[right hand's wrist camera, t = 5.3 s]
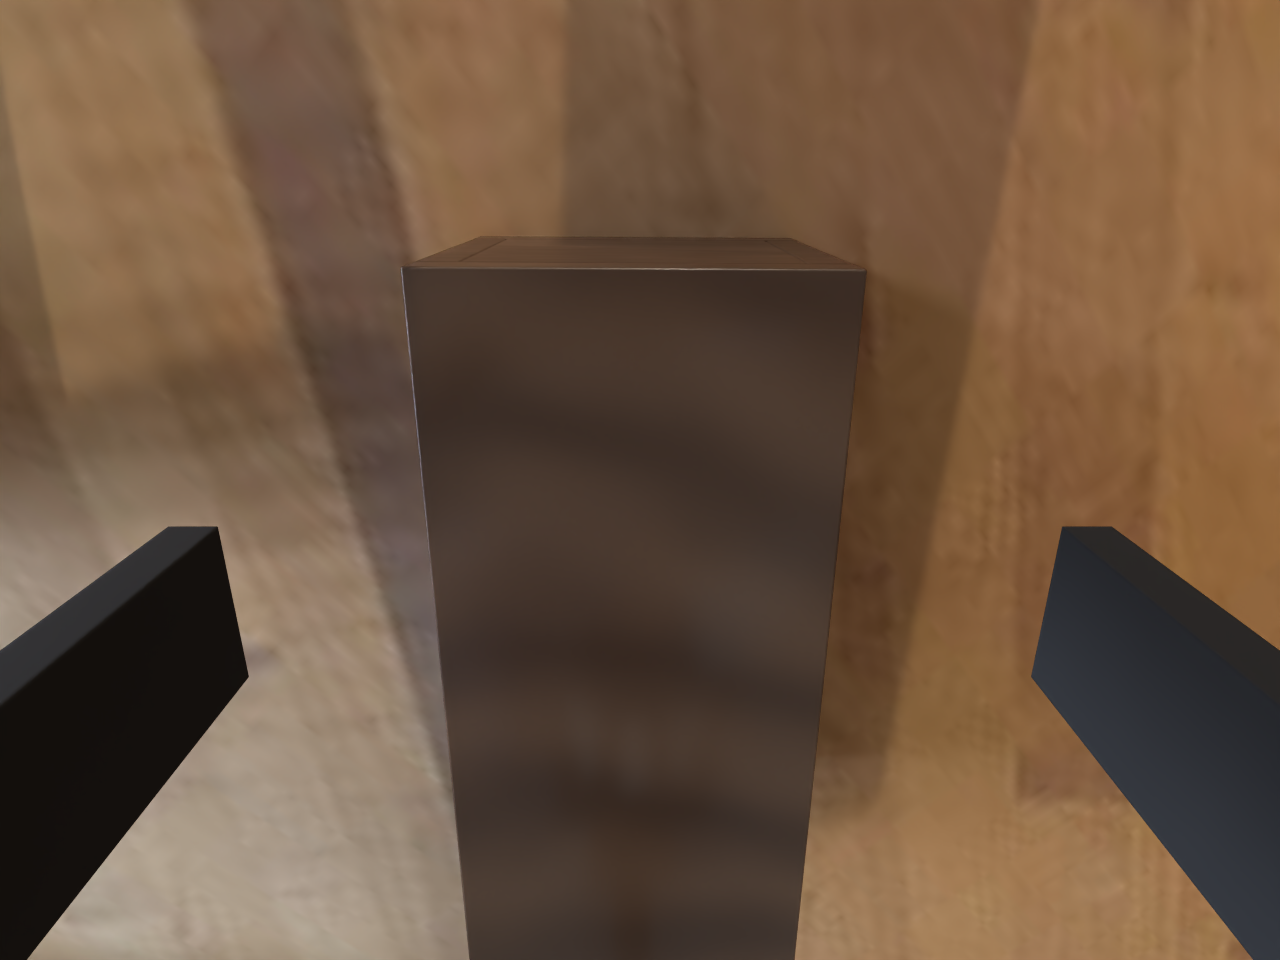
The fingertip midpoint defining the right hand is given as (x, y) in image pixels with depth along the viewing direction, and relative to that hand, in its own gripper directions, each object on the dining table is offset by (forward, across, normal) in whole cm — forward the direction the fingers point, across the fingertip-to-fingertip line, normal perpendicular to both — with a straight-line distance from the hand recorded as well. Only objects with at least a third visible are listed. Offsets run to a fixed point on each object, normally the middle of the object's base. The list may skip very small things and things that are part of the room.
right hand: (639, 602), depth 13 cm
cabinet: (+16, 0, -6) cm, 17 cm away
